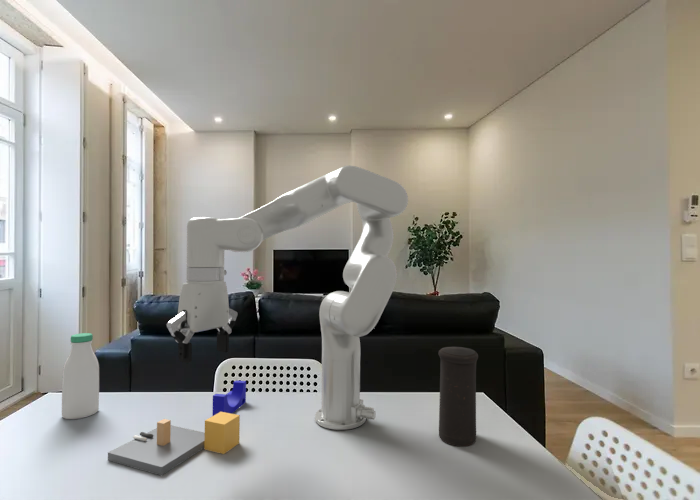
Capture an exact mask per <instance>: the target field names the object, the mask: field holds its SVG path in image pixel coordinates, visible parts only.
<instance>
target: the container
mask: <svg viewBox="0 0 700 500" xmlns="http://www.w3.org/2000/svg"><path fill="white" fill-rule="evenodd" d="M438 356H439V358H440V362H439V363H440V364H439V365H440V368H439V369H440V373H439V375H440V376H439V377H440V378H439V410H438V411H439V415H438V417H439V418H438V437H439V439H440V440H441V441H442V442H444V443H446V444H449V445H451V446H457V447H467V446H472V445H474V444H475V442H477V361H478V359H479V354H478V353H477V351H476V350H474V349H472V348H469V347H462V346H445V347H442V348H440V349H439V350H438Z"/></svg>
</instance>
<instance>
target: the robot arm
mask: <svg viewBox="0 0 700 500" xmlns="http://www.w3.org/2000/svg"><path fill="white" fill-rule="evenodd" d="M349 203H355V204H356V208H357V209H356V210H357V213H358V214H359V216H360V220H361V223H362V224H361V225H362V230H361V235H360V237H359V239H358V241H357V243H356V246H355V247H354V249H353V251H352V253H351V255H350V257H349V258H348V260H347V262H346V264H345V266H344V268H343V272H342V278H343V282H344V284H345V285H347V286H348V288H350V289H351V291H350V292H349V291H344V290H336V291H333V292H330V293H328V294H327V295H326V296H325V297H324V298H323V299H322V301H321V303H320V306H319V314H318V316H319V324H320V332H321V399H320V400H321V402H320V403H321V407H320V409H318V410H317V411H316V412H315V414H314V421H315V423H316V424H317V425H319V426H321V427H322V428H325V429H329V430H335V431H336V430H337V431H343V430H345V431H346V430H351V429H355V428H358V427H360V426H362V425H363V424H364V423H365V422H366V421H367V420H366V419H368V420H375V419H376V416H377V412H376V410H375V408H374V407H370V406H366V405H365V404H364V399H360V398H361V394H360V393H361V392H360V391H361V342H360V341H361V340H360V337H364V336H367V335H368V334H369V333H370V332H372V330H373V329H375V327H376V326H377V324H378V323H379V320H380V319H381V316H382V314H383V312H384V310H385V308H386V306H387V305H388V302H389V299H390V298H391V296H392V293H393V292H394V289H395V287H396V284H397V279H398V278H397V277H398V275H397V273H398V272H397V267H396V264H395V263H394V261H393V260H392V259H391V258H390V257H388V256H389V254H390V251H391V249H392V246H393V243H394V236H395V235H394V228H393V225H392V220H391V218H394V217H397V216H400V215H401V214H402V213H404V212H405V210H406V209H407V207H408V205H409V204H408V203H409V196H408V192H407V190H406V189H405V187H404V186H402V184H401V183H399V182H397V181H395V180H393V179H391V178H388V177H387V176H386V177H385V176H384V175H381V174H377V173H375V172H373V171H370V170H368V169H365V168H362V167H359V166H355V165H344V166H342V167H339V168H337V169H335V170H332V171H331V172H329V173H326V174H324V175H322V176H319V177H318V178H316V179H313V180H311V181H309V182H307V183H305V184H302V185H301V186H298V187H296V188H294V189H292V190H290V191H288V192H286V193H284V194H282V195H280V196H279V197H277V198H274V200H273V201H270V202H269V203H267V204H265V205H262V206H260V208H257V209H255V210H252V211H251V212H248V213H246V214H245V215H242V216H240V217H235V218H221V219H220V218H217V217H209V216H207V217H206V216H202V217H201V216H200V217H199V216H198V217H192V218H190V219H189V220H188V221H187V224H186V279H185V281H186V282H182V286H181V289H180V293H179V298H178V300H179V301H178V308H177V315H175V317H173V318H171V319H170V320H169V321H168V322H167V323H166V328H167V329H168V331H169V333H170V336H171V337H172V338H173V339H174V340H175V342H176V343H177V346H178V348H177V349H178V350H177V352H178V353H177V357H178V362H181V363H185V364H190V363H192V359H193V357H192V355H193V351H192V349H193V345H192V342H191V341H190V340H191V339H192V337H193V336H194V334H195V333H199V332H204V331H209V330H215V329H216V330H217V331H218V332H217V333H216V351H217V352H220V353H229V352H230V334H231V333H232V329H233V328H234V326H235V325H236V320H237V317H238V312H237V311H236V310H234V309H232V308H231V307H230V306H229V305H230V304H229V295H228V293H229V292H228V287H227V283H226V281H225V276H226V275H227V274H228V273H227V270H226V269H225V251H230V252H234V253H249V252H252V251H255V250H256V249H257V248H259V246H260V245H261V244H262V243H263V241H265V240H267V239H269V238H271V237H273V236H275V235H278V234H281V233H283V232H287V231H289V230H293V229H297V228H300V227H302V226H305V225H306V224H307V225H308V224H309V223H310V222H312V221H315V220H316V219H319V218H321V217H322V216H324V215H327V214H329V212H332V211H334V210H336V209H337V208H340V207H342V206H343V205H346V204H349Z"/></svg>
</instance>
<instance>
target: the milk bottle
mask: <svg viewBox="0 0 700 500" xmlns="http://www.w3.org/2000/svg"><path fill="white" fill-rule="evenodd" d="M93 336H94V335H93V333H91V332H90V333H89V332H83V333H75V334H72V335H71V336H70V345H71V349H70V352H69V355H68V356H67V358H66V360H65V362H64V365H63V369H62V379H61V381H62V384H61V416H62V418H63V419H65V420H77V419H83V418H87V417H90V416H92V415H95V414H96V413H97V412H98V411H99V409H100V408H99V407H100V405H99V404H100V363H99V360H98V358H97V356H96V354H95V353H94V350H93V347H92V343H93V340H94V339H93V338H94V337H93Z"/></svg>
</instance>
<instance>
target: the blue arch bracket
mask: <svg viewBox="0 0 700 500" xmlns="http://www.w3.org/2000/svg"><path fill="white" fill-rule="evenodd" d="M246 402H247V381H246V380H235V381H233V383H232V390H230V391H229V392H227V393H226V394H224V393H215V394H214V395H212V416H214V415H216V414H217V413H219V412H226V413H231V414H234V413H235V412H236V411H237V410H238V409H240V408H242V406H243V405H245V404H246ZM239 407H240V408H239Z"/></svg>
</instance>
